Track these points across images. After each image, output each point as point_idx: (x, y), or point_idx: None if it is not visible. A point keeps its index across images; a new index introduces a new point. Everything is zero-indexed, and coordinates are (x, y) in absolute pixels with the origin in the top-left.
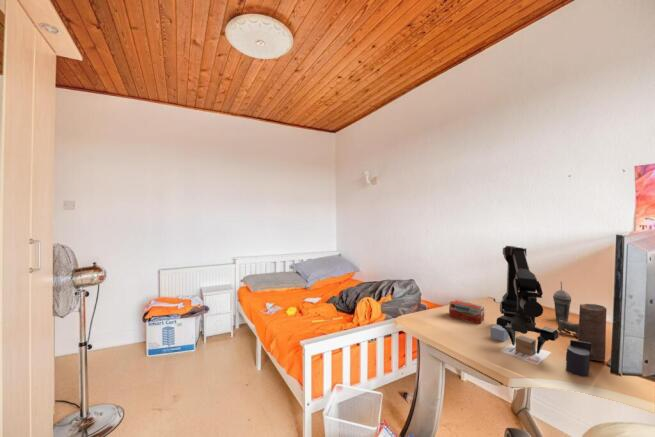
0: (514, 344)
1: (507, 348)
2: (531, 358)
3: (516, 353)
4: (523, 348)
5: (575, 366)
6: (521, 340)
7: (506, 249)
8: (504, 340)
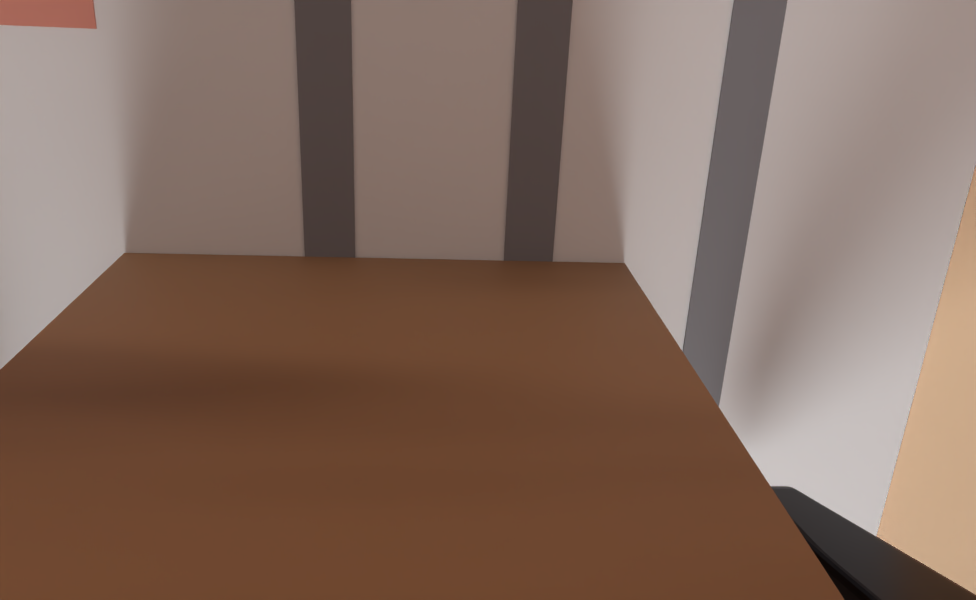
0: None
1: (877, 228)
2: (14, 52)
3: (535, 38)
4: (348, 335)
5: None
6: (440, 584)
7: None
8: None
